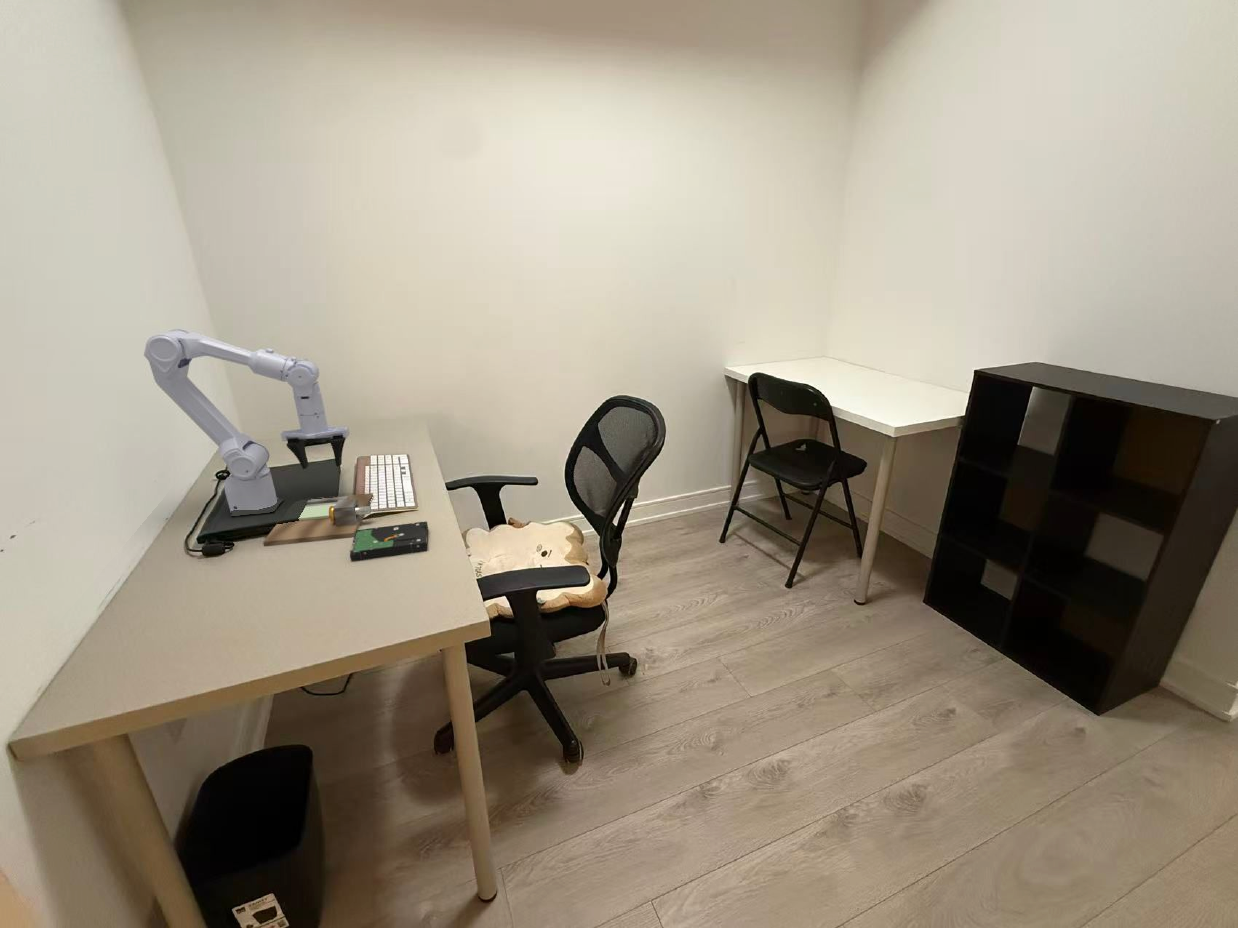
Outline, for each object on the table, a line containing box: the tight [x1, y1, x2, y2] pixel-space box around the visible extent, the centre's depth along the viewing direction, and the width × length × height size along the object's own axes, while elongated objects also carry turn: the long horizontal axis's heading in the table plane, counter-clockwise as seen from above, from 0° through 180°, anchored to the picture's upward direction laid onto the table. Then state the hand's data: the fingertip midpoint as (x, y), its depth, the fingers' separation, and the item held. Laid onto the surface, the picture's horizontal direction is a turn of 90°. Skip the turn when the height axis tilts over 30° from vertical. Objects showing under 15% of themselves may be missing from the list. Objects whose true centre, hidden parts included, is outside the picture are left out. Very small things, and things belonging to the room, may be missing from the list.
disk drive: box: [349, 520, 429, 563], centre depth 120 cm, size 10×3×15 cm
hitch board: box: [262, 492, 374, 547], centre depth 131 cm, size 18×22×5 cm
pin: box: [329, 505, 372, 521], centre depth 128 cm, size 8×3×3 cm, turn 102°
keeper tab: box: [298, 502, 337, 521], centre depth 133 cm, size 9×6×1 cm
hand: (322, 466), depth 139 cm, fingers open, 7 cm apart
